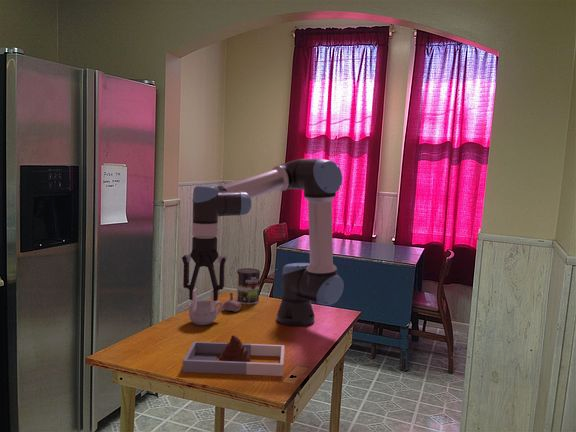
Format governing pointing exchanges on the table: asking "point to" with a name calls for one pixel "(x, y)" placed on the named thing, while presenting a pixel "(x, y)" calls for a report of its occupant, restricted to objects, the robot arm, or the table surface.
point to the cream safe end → (266, 368)
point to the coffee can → (248, 286)
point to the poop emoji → (235, 351)
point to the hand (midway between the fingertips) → (203, 310)
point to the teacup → (204, 312)
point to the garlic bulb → (231, 304)
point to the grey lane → (211, 359)
